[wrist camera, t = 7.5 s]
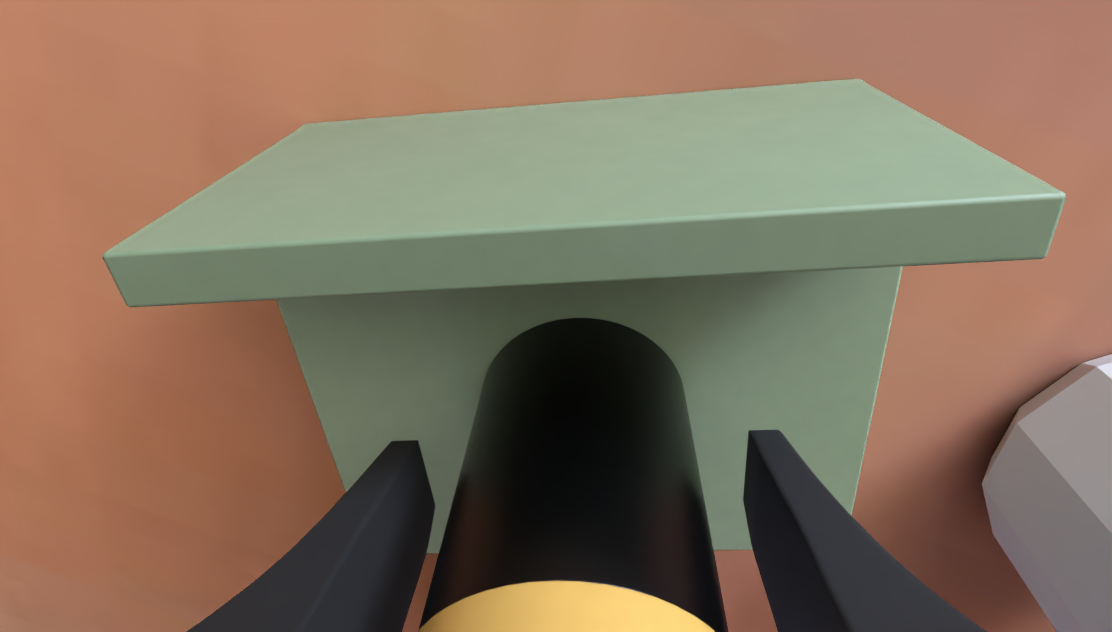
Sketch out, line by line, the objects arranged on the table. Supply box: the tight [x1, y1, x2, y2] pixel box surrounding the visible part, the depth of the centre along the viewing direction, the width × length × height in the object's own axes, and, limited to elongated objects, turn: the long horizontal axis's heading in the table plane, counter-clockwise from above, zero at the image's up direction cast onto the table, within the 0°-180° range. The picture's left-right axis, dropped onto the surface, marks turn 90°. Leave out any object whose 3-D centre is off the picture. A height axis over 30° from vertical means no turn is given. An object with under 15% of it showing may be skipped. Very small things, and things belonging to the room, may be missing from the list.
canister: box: [418, 318, 729, 632], centre depth 12 cm, size 5×5×8 cm
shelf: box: [103, 79, 1066, 554], centre depth 16 cm, size 12×14×8 cm
